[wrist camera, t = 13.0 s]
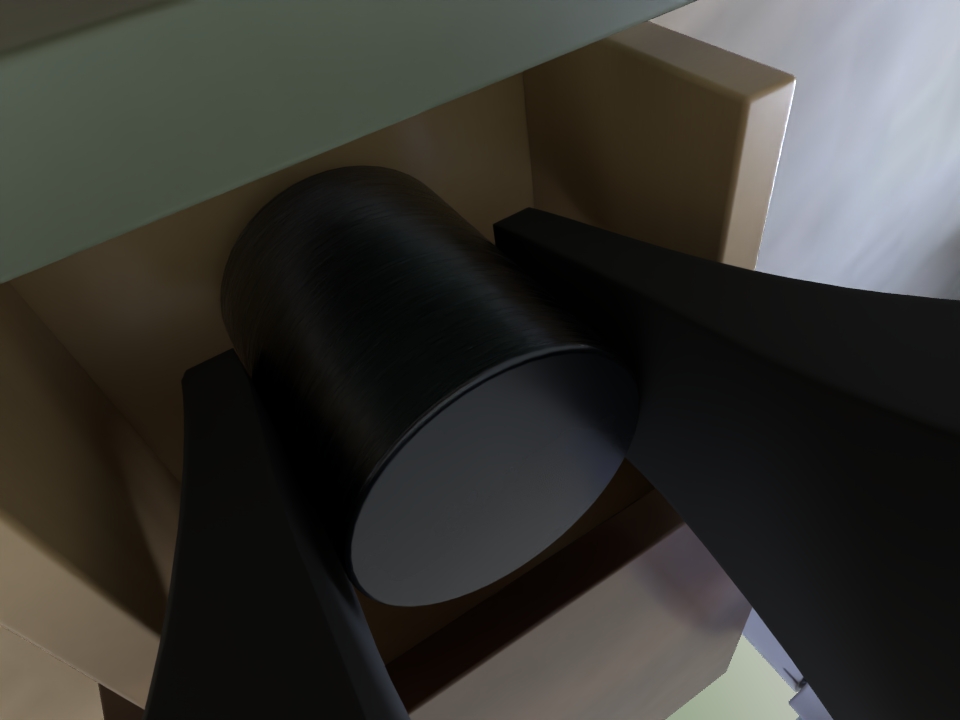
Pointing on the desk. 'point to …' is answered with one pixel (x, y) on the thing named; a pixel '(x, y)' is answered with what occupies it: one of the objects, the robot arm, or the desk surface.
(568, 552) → the cabinet
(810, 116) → the desk surface
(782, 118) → the drawer
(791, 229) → the desk surface
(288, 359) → the cylinder
